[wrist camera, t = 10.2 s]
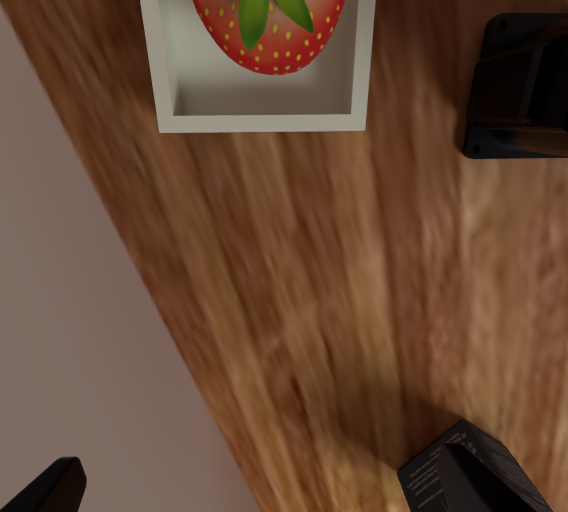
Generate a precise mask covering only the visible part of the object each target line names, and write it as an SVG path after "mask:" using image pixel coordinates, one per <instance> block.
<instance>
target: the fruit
mask: <svg viewBox="0 0 568 512" xmlns="http://www.w3.org/2000/svg"><path fill="white" fill-rule="evenodd" d="M193 3H194V6H195V8H196V11H197V13H198V15H199V17H200V19H201V21H202V22H203V24H204V26H205V28H206V29H207V31H208V32H209V34H210V35H211V37H212V38H213V40H214V41H215V42H216V44H217V45H218V46H219V48H220V49H221V50H222V51H223V52H224V53H225V54H226V55H227V56H228V57H229V58H230V59H232V60H233V61H234V62H236V63H237V64H238V65H240V66H242V67H244V68H246V69H248V70H251V71H253V72H255V73H260V74H266V75H285V74H290V73H294V72H297V71H299V70H300V69H302V68H304V67H305V66H307V65H309V64H310V63H311V62H312V61H313V60H314V59H315V58H316V57H317V56H318V55H319V53H320V52H321V51H322V50H323V48H324V47H325V45H326V44H327V42H328V40H329V39H330V37H331V36H332V33H333V31H334V29H335V27H336V24H337V22H338V20H339V17H340V15H341V12H342V9H343V6H344V3H345V0H193Z"/></svg>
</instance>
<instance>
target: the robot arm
mask: <svg viewBox="0 0 568 512" xmlns="http://www.w3.org/2000/svg"><path fill="white" fill-rule="evenodd" d="M498 22H499V23H500V24H501V30H500V32H497V31H496V25H497V23H498ZM466 118H467V120H468V122H467V127H466V132H465V138H464V143H463V148H462V153H463V155H464V156H465V157H467V158H471V159H507V158H568V13H503V14H499V15H497V16H495V17H493V18H492V19H490V21H489V22H488V23H487V26H486V29H485V34H484V39H483V44H482V50H481V55H480V60H479V62H478V63H477V64H476V67H475V72H474V77H473V82H472V88H471V93H470V98H469V103H468V109H467V114H466ZM473 145H476V150H475V151H474V152H473V153H471V148H472V146H473ZM437 473H438V476H439V479H440V482H441V485H442V489H443V492H444V495H445V498H446V501H447V504H448V507H449V510H450V512H537V511H536V510H535V509H534V508H533V507H532V506H531V505H529V504H528V503H527V502H526V501H525V500H524V499H523V498H522V497H521V496H519V495H518V494H517V493H516V492H515V491H514V490H513V489H512V488H511V487H509V486H508V485H507V484H506V483H505V482H504V481H503V480H502V479H500V478H499V477H498V476H497V475H496V474H495V473H494V472H493V471H492V470H490V469H489V468H488V467H487V466H486V465H485V464H484V463H483V462H482V461H480V460H479V459H478V458H477V457H476V456H475V455H474V454H473V453H472V452H470V451H469V450H468V449H467V448H466V447H465V446H464V445H462V444H461V443H459V442H444V443H443V444H442V445H441V448H440V452H439V456H438V460H437ZM86 480H87V479H86V475H85V472H84V470H83V467H82V464H81V462H80V459H79V458H78V457H62V458H59V459H57V460H56V461H55V462H53V463H52V464H51V465H50V466H49V467H48V468H47V469H46V470H45V471H43V472H42V473H41V474H40V475H39V476H38V477H36V478H35V479H34V480H33V481H32V482H31V483H30V484H29V485H27V486H26V487H25V488H24V489H23V490H22V491H21V492H19V493H18V494H17V495H16V496H15V497H14V498H13V499H12V500H10V501H9V502H8V503H7V504H6V505H5V506H4V507H3V508H1V509H0V512H78V509H79V506H80V503H81V500H82V497H83V494H84V492H85V488H86V483H87V481H86Z"/></svg>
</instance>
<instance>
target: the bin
mask: <svg viewBox="0 0 568 512" xmlns="http://www.w3.org/2000/svg"><path fill="white" fill-rule="evenodd" d="M375 2H376V0H345V3H344V6H343V9H342V12H341V15H340V17H339V20H338V22H337V24H336V27H335V29H334V31H333V33H332V36H331V37H330V39H329V40H328V42H327V44H326V45H325V47H324V48H323V50H322V51H321V52H320V53H319V55H318V56H317V57H316V58H315V59H314V60H313V61H312V62H311V63H310V64H309V65H307V66H305V67H304V68H302V69H300V70H299V71H297V72H294V73H290V74H285V75H266V74H260V73H255V72H253V71H251V70H248V69H246V68H244V67H242V66H240V65H238V64H237V63H236V62H234V61H233V60H232V59H230V58H229V57H228V56H227V55H226V54H225V53H224V52H223V51H222V50H221V49H220V48H219V46H218V45H217V44H216V42H215V41H214V40H213V38H212V37H211V35H210V34H209V32H208V31H207V29H206V28H205V26H204V24H203V22H202V21H201V19H200V17H199V15H198V13H197V11H196V8H195V6H194V3H193V0H140V3H141V10H142V17H143V24H144V30H145V37H146V44H147V51H148V58H149V65H150V72H151V78H152V85H153V92H154V99H155V106H156V113H157V120H158V126H159V133H187V132H285V131H365V124H366V112H367V100H368V87H369V75H370V63H371V51H372V39H373V26H374V14H375Z"/></svg>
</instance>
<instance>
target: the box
mask: <svg viewBox="0 0 568 512" xmlns="http://www.w3.org/2000/svg"><path fill="white" fill-rule="evenodd" d="M444 442H459V443H461V444H462V445H464V446H465V447H466V448H467V449H468V450H469V451H470V452H472V453H473V454H474V455H475V456H476V457H477V458H478V459H479V460H480V461H482V462H483V463H484V464H485V465H486V466H487V467H488V468H489V469H490V470H492V471H493V472H494V473H495V474H496V475H497V476H498V477H499V478H500V479H502V480H503V481H504V482H505V483H506V484H507V485H508V486H509V487H511V488H512V489H513V490H514V491H515V492H516V493H517V494H518V495H519V496H521V497H522V498H523V499H524V500H525V501H526V502H527V503H528V504H529V505H531V506H532V507H533V508H534V509H535V510H536V511H537V512H553V511H552V510H551V508H550V507H549V505H548V504H547V503H546V501H545V500H544V498H543V497H542V496H541V494H540V493H539V492H538V490H537V489H536V487H535V486H534V485H533V483H532V482H531V480H530V479H529V478H528V476H527V475H526V473H525V472H524V471H523V469H522V468H521V467H520V465H519V464H518V462H517V461H516V460H515V458H514V457H513V456H512V454H511V453H510V452H509V450H508V449H507V448H506V446H504V445H503V444H501V443H500V442H498V441H497V440H495V439H494V438H492V437H490V436H489V435H487V434H486V433H484V432H482V431H481V430H479V429H478V428H476V427H475V426H473V425H472V424H470V423H469V422H467V421H465V420H462V421H461V422H459V423H458V424H457V425H456V426H454V427H453V428H452V429H451V430H450V431H448V432H447V433H446V434H445V435H443V436H442V437H441V438H440V439H438V440H437V441H436V442H435V443H434V444H432V445H431V446H430V447H429V448H427V449H426V450H425V451H424V452H422V453H421V454H420V455H419V456H417V457H416V458H415V459H414V460H413V461H411V462H410V463H409V464H408V465H406V466H405V467H404V468H402V469H401V470H400V471H399V472H397V475H398V478H399V481H400V484H401V486H402V489H403V492H404V495H405V498H406V500H407V503H408V505H409V508H410V511H411V512H450V510H449V507H448V504H447V501H446V498H445V495H444V492H443V489H442V485H441V482H440V479H439V476H438V473H437V460H438V456H439V452H440V448H441V445H442V444H443V443H444Z"/></svg>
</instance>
